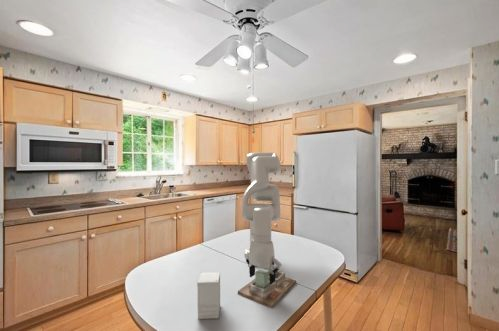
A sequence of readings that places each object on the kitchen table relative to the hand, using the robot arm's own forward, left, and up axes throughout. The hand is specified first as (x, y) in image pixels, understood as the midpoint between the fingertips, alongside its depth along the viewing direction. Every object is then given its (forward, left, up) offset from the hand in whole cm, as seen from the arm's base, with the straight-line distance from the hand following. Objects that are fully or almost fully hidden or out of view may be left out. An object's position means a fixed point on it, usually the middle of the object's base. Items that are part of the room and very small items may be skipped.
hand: (262, 279), depth 92 cm
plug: (0, 0, -5) cm, 5 cm away
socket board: (0, +5, -6) cm, 8 cm away
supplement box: (-9, -21, -6) cm, 24 cm away
